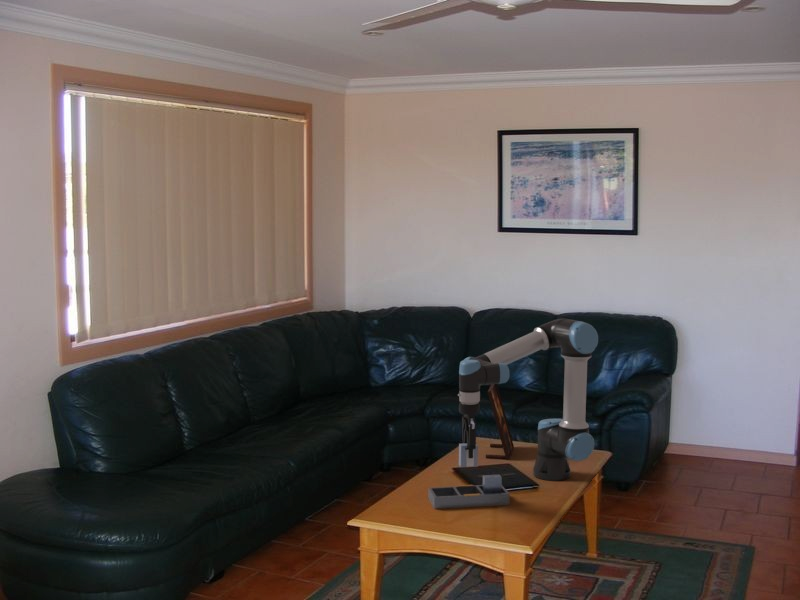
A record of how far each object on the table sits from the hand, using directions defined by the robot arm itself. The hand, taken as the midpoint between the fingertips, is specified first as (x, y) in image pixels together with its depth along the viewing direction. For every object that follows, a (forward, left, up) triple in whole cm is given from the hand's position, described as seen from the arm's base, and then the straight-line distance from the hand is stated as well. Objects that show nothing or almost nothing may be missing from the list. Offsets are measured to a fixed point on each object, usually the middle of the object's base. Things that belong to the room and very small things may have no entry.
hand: (468, 464), depth 334 cm
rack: (0, 0, -14) cm, 14 cm away
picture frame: (-29, -61, -14) cm, 69 cm away
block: (0, 0, 0) cm, 0 cm away
